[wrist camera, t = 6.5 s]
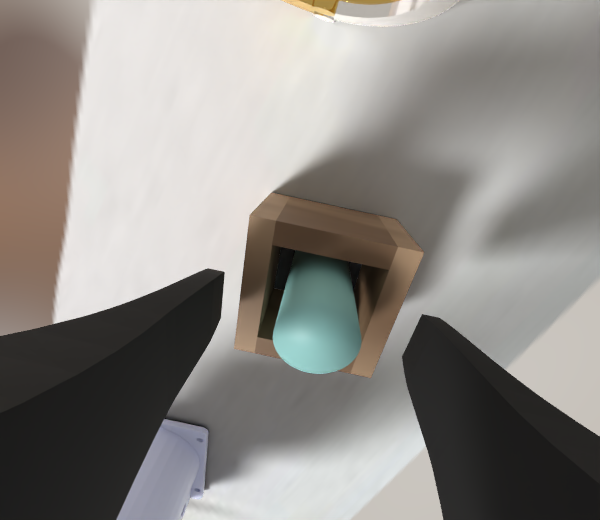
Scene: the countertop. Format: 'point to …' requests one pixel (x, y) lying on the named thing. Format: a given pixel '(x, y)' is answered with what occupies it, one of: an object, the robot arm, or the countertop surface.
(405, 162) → the countertop surface
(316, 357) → the teal cylinder
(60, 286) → the countertop surface
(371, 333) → the bead block
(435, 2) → the ring
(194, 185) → the countertop surface
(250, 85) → the countertop surface
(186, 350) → the robot arm
